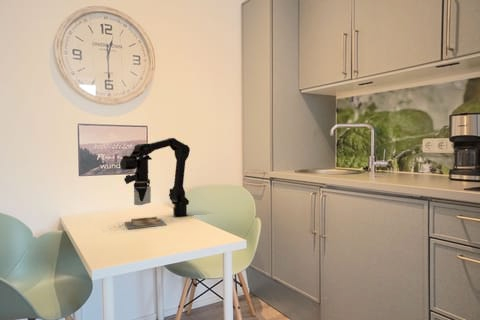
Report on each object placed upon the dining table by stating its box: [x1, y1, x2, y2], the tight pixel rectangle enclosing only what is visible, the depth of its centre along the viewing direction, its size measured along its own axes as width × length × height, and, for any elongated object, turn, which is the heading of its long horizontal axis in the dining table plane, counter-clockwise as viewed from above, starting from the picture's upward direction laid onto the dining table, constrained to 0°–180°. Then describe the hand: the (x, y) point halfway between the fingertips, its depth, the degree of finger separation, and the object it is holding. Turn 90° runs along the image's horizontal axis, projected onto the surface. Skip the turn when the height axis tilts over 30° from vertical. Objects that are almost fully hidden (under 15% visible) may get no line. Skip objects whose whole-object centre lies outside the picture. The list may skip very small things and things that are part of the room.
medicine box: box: [133, 185, 152, 206], centre depth 165 cm, size 8×4×9 cm, turn 160°
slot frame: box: [130, 216, 160, 226], centre depth 163 cm, size 12×8×2 cm
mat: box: [124, 218, 168, 231], centre depth 163 cm, size 18×16×1 cm
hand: (142, 199), depth 165 cm, fingers closed on medicine box, 9 cm apart
